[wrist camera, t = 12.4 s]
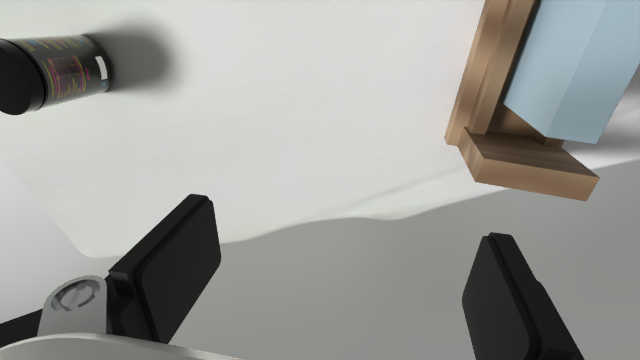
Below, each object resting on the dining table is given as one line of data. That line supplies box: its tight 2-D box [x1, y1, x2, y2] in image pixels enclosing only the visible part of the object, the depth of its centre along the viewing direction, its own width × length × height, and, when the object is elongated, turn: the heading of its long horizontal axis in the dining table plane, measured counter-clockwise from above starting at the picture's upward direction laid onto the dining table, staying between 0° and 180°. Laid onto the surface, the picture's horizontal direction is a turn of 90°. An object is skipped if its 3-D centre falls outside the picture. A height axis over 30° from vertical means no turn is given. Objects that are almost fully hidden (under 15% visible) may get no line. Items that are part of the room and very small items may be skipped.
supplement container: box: [0, 35, 113, 115], centre depth 34 cm, size 7×7×10 cm
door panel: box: [501, 0, 640, 144], centre depth 22 cm, size 12×3×10 cm, turn 174°
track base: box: [444, 0, 600, 201], centre depth 24 cm, size 22×10×10 cm, turn 174°
